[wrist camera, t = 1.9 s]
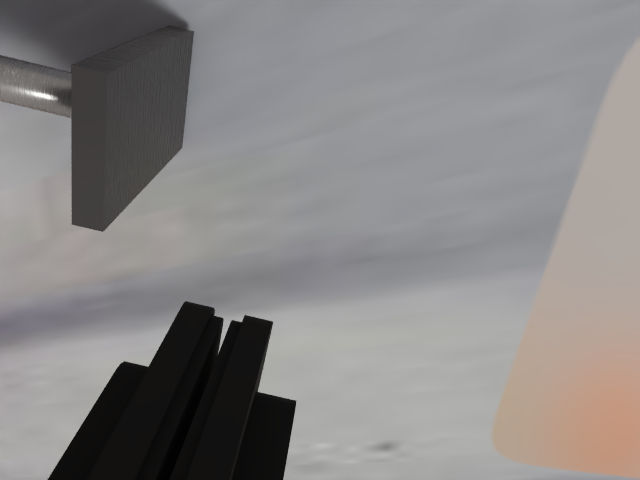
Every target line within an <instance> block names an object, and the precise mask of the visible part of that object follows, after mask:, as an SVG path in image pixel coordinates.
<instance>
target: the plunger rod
mask: <svg viewBox="0 0 640 480" xmlns="http://www.w3.org/2000/svg"><path fill="white" fill-rule="evenodd" d="M193 34H194V31H190V30H186V29H182V28H178V27H174V26H167V27H164V28H162V29H159V30H157V31H154V32H152V33H149V34H147V35H144V36H142V37H139V38H137V39H135V40H132V41H130V42H127V43H125V44H122V45H120V46H117V47H115V48H112V49H110V50H107V51H105V52H102V53H100V54H97V55H95V56H92V57H90V58H87V59H85V60H82V61H80V62H77V63H75V64H73V65H71V72H68V71H64V70H60V69H56V68H51V67H47V66H43V65H39V64H35V63H31V62H27V61H22V60H18V59H14V58H10V57H6V56H2V55H0V101H2V102H6V103H10V104H14V105H19V106H23V107H27V108H31V109H35V110H40V111H44V112H48V113H52V114H56V115H60V116H65V117H69V118H72V225H77V226H81V227H85V228H89V229H94V230H98V231H102V232H103V231H104V230H105V229H106V228H107V227H108V226H109V225H110V224H111V223H112V222H113V221H114V220H115V219H116V217H117V216H118V215H119V214H120V213H121V212H122V211H123V210H124V209H125V208H126V207H127V206H128V205H129V204H130V203H131V202H132V200H133V199H134V198H135V197H136V196H137V195H138V194H139V193H140V192H141V191H142V190H143V189H144V188H145V187H146V186H147V185H148V183H149V182H150V181H151V180H152V179H153V178H154V177H155V176H156V175H157V174H158V173H159V172H160V171H161V170H162V169H163V168H164V166H165V165H166V164H167V163H168V162H169V161H170V160H171V159H172V158H173V157H174V156H175V155H176V154H177V153H178V152H179V151H180V149H181V148H182V144H183V134H184V124H185V114H186V104H187V94H188V84H189V74H190V64H191V54H192V44H193Z"/></svg>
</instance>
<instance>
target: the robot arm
mask: <svg viewBox="0 0 640 480" xmlns="http://www.w3.org/2000/svg"><path fill="white" fill-rule="evenodd" d="M214 313H215V309H214V308H212V307H208V306H204V305H199V304H195V303H191V302H184V304H183V305H182V307H181V309H180V311H179V312H178V314H177V316H176V318H175V320H174V322H173V323H172V325H171V327H170V329H169V331H168V332H167V334H166V336H165V338H164V340H163V342H162V343H161V345H160V347H159V349H158V351H157V353H156V354H155V356H154V358H153V360H152V362H151V364H150V365H149V367H146V366H142V365H138V364H133V363H129V362H125V361H124V362H123V363H121V364H120V365H119V367H118V368H117V369H116V371H115V372H114V374H113V376H112V377H111V379H110V380H109V382H108V384H107V385H106V387H105V388H104V390H103V392H102V393H101V395H100V396H99V398H98V400H97V401H96V403H95V404H94V406H93V408H92V409H91V411H90V413H89V414H88V416H87V417H86V419H85V421H84V422H83V424H82V425H81V427H80V429H79V430H78V432H77V433H76V435H75V437H74V438H73V440H72V441H71V443H70V445H69V446H68V448H67V449H66V451H65V453H64V454H63V456H62V457H61V459H60V461H59V462H58V464H57V466H56V467H55V469H54V470H53V472H52V474H51V475H50V477H49V478H48V480H283V477H284V471H285V465H286V460H287V454H288V448H289V442H290V436H291V431H292V425H293V419H294V413H295V407H296V401H295V400H290V399H286V398H282V397H277V396H273V395H268V394H264V393H260V392H258V388H259V383H260V379H261V374H262V370H263V365H264V361H265V356H266V352H267V348H268V343H269V339H270V334H271V330H272V325H273V322H272V321H268V320H264V319H259V318H255V317H251V316H247V315H245V316H244V319H243V321H242V322H238V321H234V320H232V321H231V323H230V326H229V328H228V331H227V333H226V336H225V339H224V341H223V344H222V346H221V349H220V351H219V345H220V339H221V333H222V327H223V318H221V317H216V316H214ZM218 351H219V354H218Z"/></svg>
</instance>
